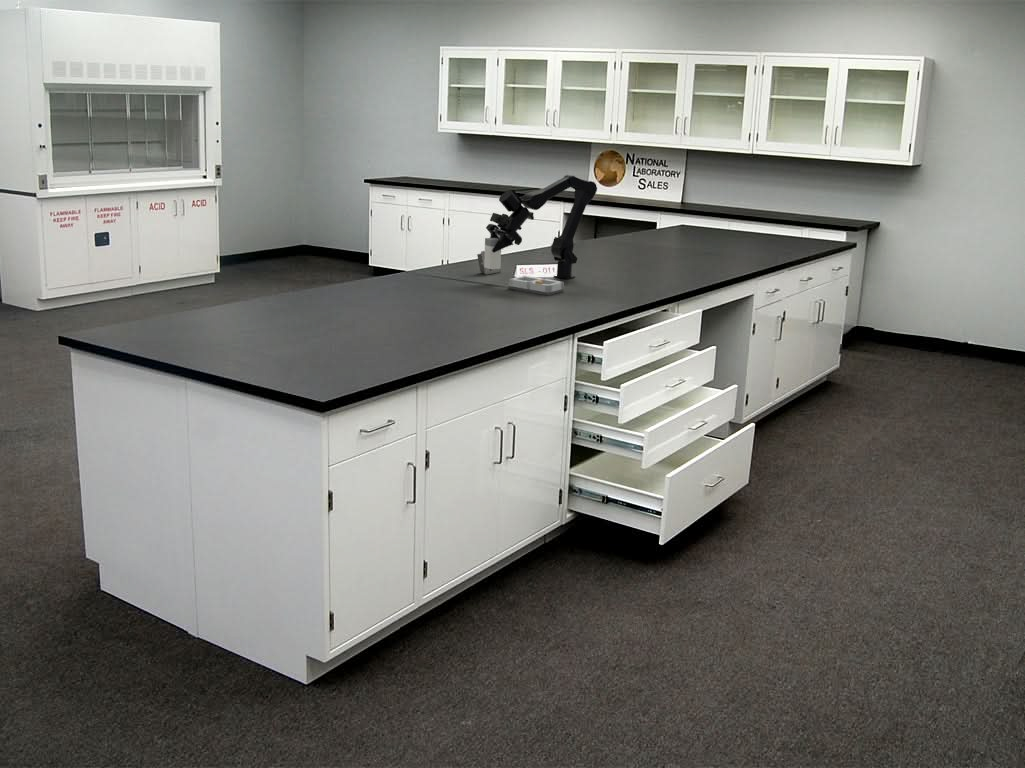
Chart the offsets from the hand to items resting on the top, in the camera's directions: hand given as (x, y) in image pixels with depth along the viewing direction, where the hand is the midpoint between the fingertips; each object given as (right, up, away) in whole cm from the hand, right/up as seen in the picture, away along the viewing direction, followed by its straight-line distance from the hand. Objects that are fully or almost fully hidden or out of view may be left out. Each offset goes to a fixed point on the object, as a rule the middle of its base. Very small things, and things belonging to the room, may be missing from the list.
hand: (489, 250), depth 381 cm
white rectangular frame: (+17, -15, -6) cm, 24 cm away
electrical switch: (-1, -6, +24) cm, 25 cm away
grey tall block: (+1, -6, +3) cm, 7 cm away
